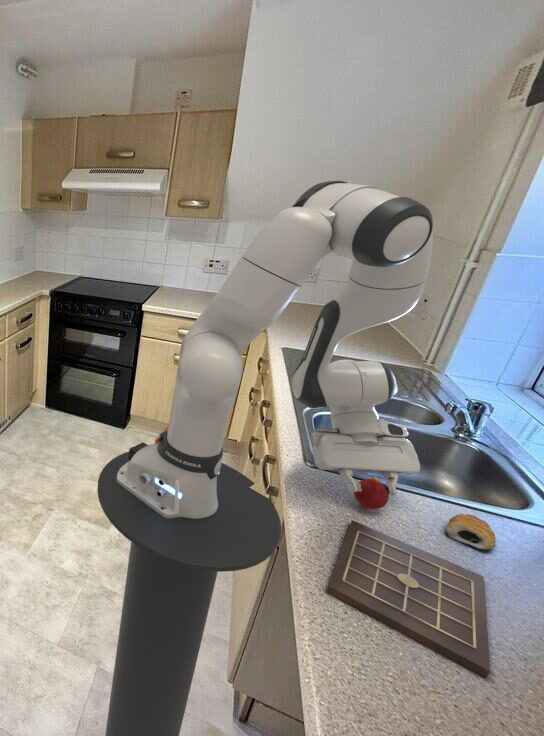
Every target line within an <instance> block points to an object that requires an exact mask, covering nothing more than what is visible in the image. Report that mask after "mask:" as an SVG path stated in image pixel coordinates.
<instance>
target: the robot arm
mask: <svg viewBox="0 0 544 736" xmlns="http://www.w3.org/2000/svg"><path fill="white" fill-rule="evenodd" d="M433 221H434V220H433V215H432V212H431V211H430V209H429V208H428V207H427V206H426V205H424V204H423V203H421V202H419V201H417V200H416V199H413V198H411V197H407V196H400V195H398V194H394V193H392V192H389V191H385V190H382V189H380V188H378V187H375V186H371V185H366V184H360V183H359V184H358V183H350V182H346V181H344V180H327V181H322V182H318V183H317V184H315V185H312V186H311V187H309V188H308V189H306V191H305V192H303V193H302V194H301V196H299V198H298V199H297V200H296V201H295V203H294V204H293V205H291V207H287V208H284V209H282V210H280V211H279V212H278V213H276V214H275V215H274V216H273V218H272V219H271V220H270V221H269V222H268V223H267V224H266V225H265V226H264V227H263V228H262V229H261V231H260V232H259V233H258V234H257V235H256V237H255V238H254V239H253V240H252V242H251V243H250V244H249V246H248V247H247V248H246V250H245V251H244V253H243V254H242V256H241V257H240V258H239V260H238V262H237V263H236V265H235V266H234V268H233V269H232V271H231V272H230V274H228V277H227V278H226V280H225V281H224V283H223V284H222V285H221V287H220V289H219V290H218V292H217V293H216V295H215V296H214V297H213V298H212V300H211V301H210V302H209V303H208V305H207V306H206V307H205V309H204V310H203V311H202V312H201V313H200V315H199V316H198V317H197V318H196V320H195V321H194V322H193V324H192V325H191V327H190V328H189V329H188V331H187V333H186V334H185V335H184V336H183V338H182V341H181V343H180V349H179V350H180V351H179V356H178V363H177V369H176V376H175V377H176V378H175V383H174V389H173V396H172V401H171V407H170V408H171V409H170V413H169V414H170V415H169V419H168V420H169V421H168V426H167V427H165V428H164V429H163V430H164V431H162V432H161V433H159V434H158V436H157V437H156V438H155V440H154V443H152V444H147V443H146V442H140V443H138V444H136V445H133V446H132V447H129V450H128V452H129V457H128V459H129V460H130V461H129V462H127V463H126V464H124V465H123V466H122V467H121V468H120V470H119V471H118V474H117V478H116V481H117V483H119V484H120V485H121V486H123V487H124V488H125V489H127V490H128V491H129V492H131V493H132V494H133V495H135V496H136V497H137V498H139V499H140V500H141V501H143V502H144V503H145V504H147V505H148V506H149V507H151V508H152V509H153V510H155V511H156V512H157V513H159V514H160V515H161V516H163V517H165V518H177V517H184V518H193V519H198V518H205V517H208V516H211V515H212V514H214V513H215V512H216V510H217V508H218V500H217V475H218V474H219V471H220V468H221V463H223V456H224V446H223V444H224V439H225V434H226V430H227V425H228V420H229V417H230V413H231V411H232V408H233V406H234V403H235V399H236V396H237V393H238V390H239V387H240V383H241V380H242V377H243V370H244V369H243V368H244V367H243V362H242V358H241V357H242V355H243V352H244V351H245V350H246V348H247V347H248V346H249V345H250V344H251V343H252V342H253V341H254V340H256V338H257V337H258V336H259V335H261V334H262V333H263V332H264V331H265V330H266V329H268V328H270V327H271V326H273V325H274V324H275V322H276V321H277V320H278V318H279V317H280V316H281V315H282V313H283V312H284V311H285V309H286V308H287V307H288V305H289V304H290V303H291V301H292V300H293V299H294V297H295V296H296V295H297V294H298V292H299V291H300V290H301V288H302V287H303V286H304V284H305V283H306V282H307V280H308V279H309V277H310V276H311V275H312V273H313V272H314V270H315V269H316V267H317V265H318V263H319V262H320V260H321V259H323V258H324V257H325V256H327V255H329V254H331V253H332V254H335V255H338V256H341V257H344V258H346V259H350V260H352V261H351V265H350V269H349V274H348V279H347V282H346V283H345V285H344V287H343V288H342V289H341V291H340V292H339V293H338V295H336V296H335V297H334V298H333V299H332V300H330V301H329V302H327V303H325V304H324V305H323V307H322V308H321V311H320V312H319V315H318V317H317V319H316V321H315V324H314V326H313V329H312V331H311V334H310V336H309V339H308V342H307V345H306V346H305V350H304V352H303V355H302V358H301V360H300V362H299V364H298V365H297V367H296V368H295V370H294V372H293V374H292V379H291V390H292V395H293V397H294V399H295V400H296V401H298V402H299V403H300V404H302V405H303V406H305V407H307V408H308V409H311V410H313V409H323V408H327V407H329V409H330V414H329V415H330V417H329V418H330V422H331V427H332V428H329V427H328V428H325V427H316V428H315V429H313V430H312V431H311V432H310V437H311V442H312V444H313V445H312V447H313V448H312V449H313V450H312V451H313V460H314V461H313V462H314V465H315V466H316V467H317V468H318V469H319V470H322V471H323V470H325V471H339V472H338V473H339V475H340V477H341V478H342V479H343V481H344V482H345V483H346V484H347V487H348V489H349V492H350V493H354V492H355V493H359V492H362V489H361V484H360V483H358V482H357V481H356V480H355V478H353V475H354V473H355V472H356V473H370V474H383V478H384V479H386V483H385V485H384V487H385V489H386V490H387V492H388V496H395V495H397V493H398V492H397V489H396V486H397V483H398V480H399V475H402V476H410V475H414V474H418V473H419V472H420V470H421V463H420V461H419V457H418V454H417V452H416V449H415V447H414V445H413V444H412V442H411V441H410V440H409V439H407V437H408V436H409V432H408V429H407V428H406V427H404V426H401V425H398V424H395V423H392V422H389V421H387V420H386V419H385V420H384V419H382V418H380V417H379V414H378V413H377V411H376V408H375V407H376V406H377V405H378V406H379V405H384V404H386V403H387V402H389V401H391V399H393V398H394V396H395V395H396V394H397V393H398V384H397V380H396V377H395V374H394V372H393V370H392V369H391V368H390V367H389V366H388V365H386V364H385V363H383V362H382V361H379V360H378V361H376V360H363V361H362V360H361V361H360V360H359V361H357V360H353V359H347V358H346V359H338V360H334V361H332V359H333V356H334V354H335V351H336V349H337V347H338V345H339V344H340V343H341V342H342V341H343V340H344V339H346V338H347V337H349V336H351V335H354V334H356V333H358V332H361V331H364V330H366V329H369V328H372V327H376V326H379V325H383V324H386V323H390V322H392V321H395V320H398V319H399V318H400V317H402V316H405V315H406V314H408V313H409V312H410V311H412V310H413V309H414V308H415V306H416V305H417V304H418V302H420V301H419V300H420V299H421V297H422V295H423V292H424V289H425V286H426V284H427V283H426V282H427V278H428V275H429V271H430V267H431V262H432V255H433V246H434V245H433V244H434V231H433V227H434V222H433ZM331 361H332V362H331Z"/></svg>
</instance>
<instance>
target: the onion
mask: <svg viewBox="0 0 544 736" xmlns="http://www.w3.org/2000/svg"><path fill="white" fill-rule="evenodd" d="M357 483H360V484H361V489H362V492H359V493H355V492H353V496H354V499H355V500H356V501H357V502H358V504H359V505H360V506H361V507H362V508H363V509H365V510H377V509H378V510H379V509H382V508H384V507H385V506H386V505H387V503H389V497H390V495H388V492H387V490H386V489H385V487H384V486H385V485H384V484H383V483H382V482H381V481H380V480H379V479H378V477H377V476H375V475H374V476H372V478H367V479H362V480H360V481H358V482H357Z"/></svg>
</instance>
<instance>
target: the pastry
mask: <svg viewBox="0 0 544 736" xmlns="http://www.w3.org/2000/svg"><path fill="white" fill-rule="evenodd" d="M445 532H446V534H447V536H448V537H449V538H451V539H453V540H456V541H458V542H460V543H462V544H466V545H469V546H471V547H474V548H476V549H479V550H486V551H487V550H490V549H493V548H494V547H495V546H496V540H497V538H496V534H495V532H494V530H492V528H491V526H490V525H489V524H488V522H487V521H485V520H482V519H481V518H479V517H478V516H475V515H474V514H469V513H460V514H459V513H458V514H456V515H454V516H452V517H450V518H449V520H448V523H447V526H446V528H445Z"/></svg>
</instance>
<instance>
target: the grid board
mask: <svg viewBox="0 0 544 736" xmlns="http://www.w3.org/2000/svg"><path fill="white" fill-rule="evenodd" d="M326 592H327V594H329V595H331V596H333V597H334V598H337V599H338V600H340V601H342V602H344V603H346V604H349V605H350V606H351V607H353V608H355V609H357V610H359V611H360V612H363V613H364V614H366V615H368V616H370V617H372V618H374V619H376V620H377V621H379V622H381V623H382V624H384V625H387V626H389V627H390V628H392V629H394V630H396V631H398V632H399V633H402V634H403V635H405V636H407V637H409V638H410V639H413V640H415V641H417V642H418V643H420V644H422V645H424V646H425V647H427V648H429V649H431V650H433V651H435V652H437V653H438V654H441V655H442V656H444V657H446V658H448V659H449V660H452V661H453V662H455V663H457V664H459V665H461V666H463V667H465V668H466V669H468V670H470V671H472V672H473V673H475V674H478V675H479V676H481V677H482V678H485V679H487V678H488V675H489V674H490V673H491V664H490V647H489V634H488V620H487V605H486V590H485V577H484V575H481V574H479V573H477V572H474V571H472V570H470V569H468V568H465V567H463V566H461V565H458V564H456V563H453V562H451V561H448V560H447V559H445V558H442V557H439V556H437V555H435V554H433V553H430V552H428V551H425V550H423V549H420V548H418V547H416V546H413V545H412V544H409V543H406V542H404V541H402V540H399V539H398V538H396V537H392V536H390V535H388V534H386V533H383V532H381V531H379V530H376V529H375V528H371V527H370V526H367V525H365V524H362V523H360V522H357V521H356V520H353V519H352V520H351V522H350V524H349V527H348V529H347V533H346V535H345V538H344V542H343V545H342V547H341V551H340V553H339V556H338V559H337V562H336V565H335V567H334V570H333V574H332V576H331V580H330V583H329V585H328V588H327V590H326Z"/></svg>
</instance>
